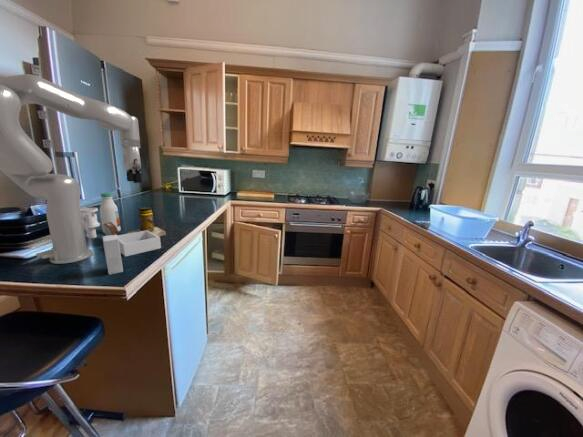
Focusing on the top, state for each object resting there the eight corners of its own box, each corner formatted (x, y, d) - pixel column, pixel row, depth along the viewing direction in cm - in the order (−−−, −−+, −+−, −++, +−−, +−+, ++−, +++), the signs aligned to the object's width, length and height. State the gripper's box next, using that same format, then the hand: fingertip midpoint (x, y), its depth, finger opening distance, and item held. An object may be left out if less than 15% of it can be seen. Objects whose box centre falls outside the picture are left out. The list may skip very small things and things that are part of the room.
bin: (125, 256, 99) (123, 244, 98) (114, 247, 109) (112, 236, 108) (161, 248, 109) (160, 237, 108) (148, 240, 119) (147, 230, 117)
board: (134, 241, 117) (134, 237, 117) (127, 235, 124) (126, 232, 124) (165, 234, 127) (165, 231, 127) (156, 230, 134) (156, 226, 134)
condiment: (157, 231, 126) (154, 208, 123) (138, 234, 120) (135, 210, 117) (152, 228, 131) (150, 205, 128) (133, 231, 125) (130, 207, 122)
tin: (121, 244, 112) (119, 226, 110) (113, 246, 110) (110, 227, 108) (112, 237, 122) (110, 220, 120) (104, 238, 120) (102, 221, 118)
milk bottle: (114, 233, 127) (108, 194, 122) (99, 233, 127) (92, 194, 122) (124, 229, 134) (119, 192, 130) (109, 229, 135) (104, 191, 130)
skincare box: (107, 268, 88) (102, 236, 85) (121, 266, 91) (117, 234, 88) (108, 275, 84) (102, 241, 81) (123, 272, 86) (118, 238, 83)
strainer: (82, 236, 121) (77, 206, 118) (100, 234, 126) (96, 204, 122) (83, 240, 116) (78, 208, 113) (102, 237, 121) (98, 206, 117)
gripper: (116, 144, 119) (120, 180, 122) (126, 143, 107) (130, 183, 111) (134, 145, 124) (137, 180, 128) (146, 144, 113) (149, 183, 116)
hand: (134, 181), depth 119 cm, fingers open, 9 cm apart
